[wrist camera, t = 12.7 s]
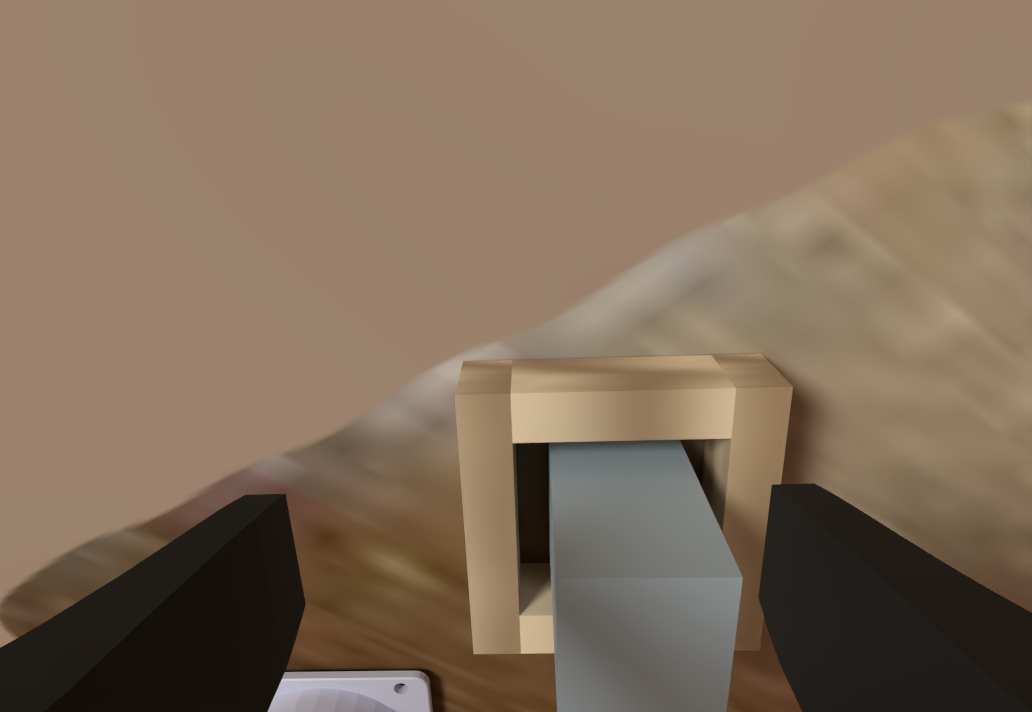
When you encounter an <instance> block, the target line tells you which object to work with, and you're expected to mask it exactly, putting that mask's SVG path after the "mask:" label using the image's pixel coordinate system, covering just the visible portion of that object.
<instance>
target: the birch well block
mask: <svg viewBox="0 0 1032 712" xmlns="http://www.w3.org/2000/svg"><path fill="white" fill-rule="evenodd" d="M792 392H793V386H792V385H791V384H790V383H789V382H788V381H787V380H786V379H785V378H784V377H783V376H782V375H781V374H780V372H779V371H778V370H777V369H776V368H775V367H774V366H773V365H772V364H771V363H770V362H769V361H768V360H767V359H766V358H765V357H764V356H763V355H762V354H734V355H694V356H655V357H615V358H576V359H536V360H497V361H463V365H462V368H461V372H460V376H459V380H458V384H457V388H456V392H455V406H456V420H457V433H458V447H459V461H460V474H461V488H462V502H463V515H464V529H465V543H466V556H467V570H468V584H469V597H470V611H471V625H472V638H473V652H474V654H526V653H554V633H553V612H552V591H551V570H550V563H520V543H519V516H518V490H517V464H516V443H545V442H591V441H637V440H683V439H705V445H704V458H703V472H702V485H701V487H702V489H703V491H704V494H705V496H706V498H707V500H708V502H709V505H710V507H711V509H712V511H713V513H714V516H715V518H716V520H717V522H718V524H719V526H720V529H721V531H722V533H723V535H724V537H725V540H726V542H727V544H728V546H729V548H730V551H731V553H732V555H733V557H734V559H735V561H736V564H737V566H738V568H739V570H740V572H741V575H742V577H743V581H742V589H741V597H740V605H739V613H738V621H737V630H736V638H735V646H734V651H760V647H761V639H762V631H763V623H764V614H763V611H762V608H761V605H760V602H759V598H758V596H759V587H760V579H761V571H762V562H763V554H764V546H765V537H766V529H767V521H768V512H769V504H770V496H771V487H772V484H781V480H782V472H783V464H784V456H785V448H786V440H787V432H788V424H789V416H790V408H791V400H792Z"/></svg>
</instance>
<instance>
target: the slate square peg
mask: <svg viewBox="0 0 1032 712" xmlns="http://www.w3.org/2000/svg"><path fill="white" fill-rule="evenodd" d="M548 463H549V548H550V570H551V591H552V612H553V633H554V654H555V675H556V696H557V712H727V703H728V695H729V687H730V679H731V671H732V662H733V654H734V646H735V638H736V630H737V621H738V613H739V605H740V597H741V589H742V581H743V577H742V575H741V572H740V570H739V568H738V566H737V564H736V561H735V559H734V557H733V555H732V553H731V551H730V548H729V546H728V544H727V542H726V540H725V537H724V535H723V533H722V531H721V529H720V526H719V524H718V522H717V520H716V518H715V516H714V513H713V511H712V509H711V507H710V505H709V502H708V500H707V498H706V496H705V494H704V491H703V489H702V487H701V485H700V483H699V481H698V478H697V476H696V474H695V472H694V470H693V467H692V465H691V463H690V461H689V459H688V457H687V454H686V452H685V450H684V448H683V446H682V443H681V441H680V440H637V441H591V442H548Z"/></svg>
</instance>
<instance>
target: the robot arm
mask: <svg viewBox="0 0 1032 712" xmlns="http://www.w3.org/2000/svg"><path fill="white" fill-rule="evenodd" d="M758 598H759V602H760V605H761V608H762V611H763V614H764V617H765V620H766V624H767V627H768V630H769V633H770V636H771V639H772V642H773V645H774V648H775V650H776V653H777V656H778V659H779V662H780V664H781V667H782V669H783V671H784V673H785V675H786V677H787V680H788V682H789V684H790V686H791V688H792V690H793V692H794V695H795V697H796V699H797V701H798V703H799V705H800V707H801V709H802V711H803V712H1032V613H1031V612H1029V611H1027V610H1025V609H1024V608H1022V607H1020V606H1018V605H1016V604H1015V603H1013V602H1011V601H1009V600H1007V599H1006V598H1004V597H1002V596H1000V595H998V594H997V593H995V592H993V591H991V590H989V589H988V588H986V587H984V586H982V585H981V584H979V583H977V582H976V581H974V580H972V579H971V578H969V577H967V576H965V575H964V574H962V573H960V572H959V571H957V570H955V569H954V568H952V567H950V566H949V565H947V564H945V563H944V562H942V561H940V560H939V559H937V558H935V557H934V556H932V555H931V554H929V553H927V552H926V551H924V550H922V549H921V548H919V547H918V546H916V545H914V544H913V543H911V542H910V541H908V540H906V539H905V538H903V537H902V536H900V535H898V534H897V533H895V532H894V531H892V530H890V529H889V528H887V527H886V526H884V525H883V524H881V523H879V522H878V521H876V520H875V519H873V518H871V517H870V516H868V515H867V514H865V513H863V512H862V511H860V510H859V509H857V508H855V507H854V506H852V505H851V504H849V503H847V502H846V501H844V500H842V499H841V498H839V497H837V496H836V495H834V494H832V493H831V492H829V491H827V490H825V489H823V488H822V487H820V486H818V485H816V484H772V487H771V496H770V504H769V512H768V521H767V529H766V537H765V546H764V554H763V562H762V571H761V579H760V587H759V596H758ZM305 605H306V604H305V598H304V593H303V588H302V582H301V577H300V571H299V566H298V560H297V555H296V549H295V544H294V539H293V533H292V528H291V522H290V517H289V511H288V506H287V500H286V495H285V494H265V495H244V496H242V497H241V498H239V499H237V500H235V501H233V502H232V503H230V504H228V505H227V506H225V507H223V508H222V509H220V510H219V511H217V512H216V513H214V514H212V515H211V516H209V517H208V518H206V519H205V520H203V521H202V522H200V523H199V524H197V525H196V526H194V527H193V528H191V529H190V530H188V531H187V532H185V533H184V534H182V535H181V536H179V537H178V538H176V539H175V540H173V541H172V542H170V543H169V544H167V545H166V546H164V547H163V548H161V549H160V550H158V551H157V552H155V553H154V554H152V555H151V556H149V557H148V558H146V559H145V560H143V561H142V562H140V563H139V564H137V565H136V566H134V567H133V568H131V569H130V570H128V571H127V572H125V573H123V574H122V575H120V576H119V577H117V578H116V579H114V580H112V581H111V582H109V583H108V584H106V585H104V586H103V587H101V588H99V589H98V590H96V591H95V592H93V593H91V594H90V595H88V596H87V597H85V598H83V599H82V600H80V601H78V602H77V603H75V604H74V605H72V606H70V607H69V608H67V609H65V610H64V611H62V612H61V613H59V614H57V615H56V616H54V617H53V618H51V619H49V620H48V621H46V622H44V623H43V624H41V625H39V626H38V627H36V628H34V629H33V630H31V631H29V632H27V633H26V634H24V635H22V636H21V637H19V638H17V639H15V640H13V641H12V642H10V643H8V644H7V645H5V646H3V647H1V648H0V712H433V707H432V697H431V688H430V680H429V677H428V676H427V675H426V674H425V673H423V672H421V671H331V672H285V671H286V668H287V665H288V662H289V658H290V655H291V652H292V649H293V646H294V643H295V640H296V636H297V633H298V629H299V626H300V622H301V619H302V615H303V612H304V608H305ZM399 683H401V684H405V685H400V684H399Z"/></svg>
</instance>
